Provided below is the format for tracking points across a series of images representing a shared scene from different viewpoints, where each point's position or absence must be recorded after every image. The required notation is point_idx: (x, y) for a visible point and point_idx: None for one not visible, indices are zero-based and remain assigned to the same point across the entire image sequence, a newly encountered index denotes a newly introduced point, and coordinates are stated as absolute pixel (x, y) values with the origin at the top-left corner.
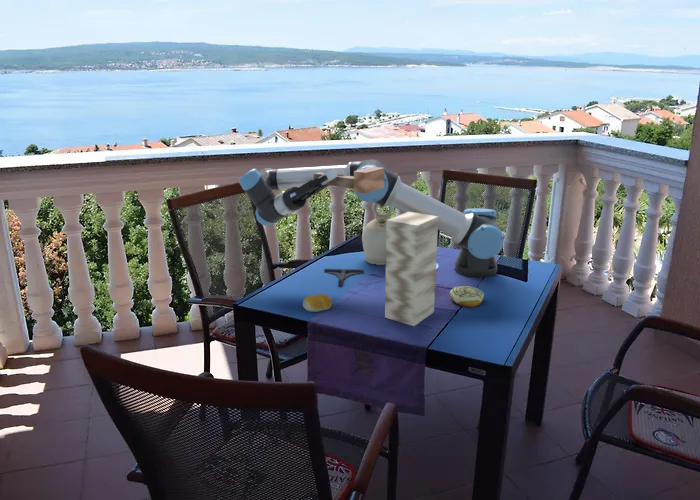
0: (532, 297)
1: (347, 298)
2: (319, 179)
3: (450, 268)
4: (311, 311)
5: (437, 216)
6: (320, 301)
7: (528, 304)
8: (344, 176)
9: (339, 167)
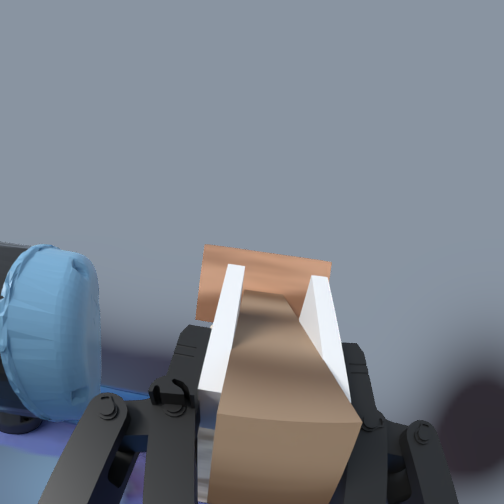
0: (105, 390)
1: None
2: (367, 393)
3: (2, 437)
4: None
5: (212, 325)
6: None
7: (127, 395)
8: (267, 311)
9: (244, 270)
